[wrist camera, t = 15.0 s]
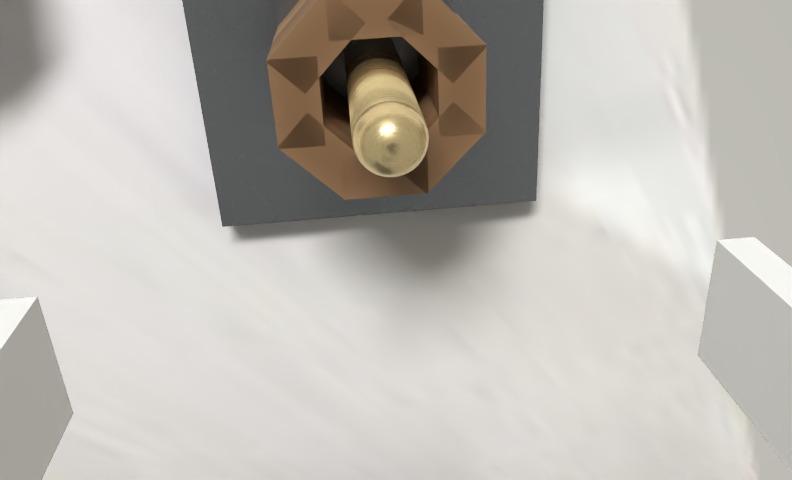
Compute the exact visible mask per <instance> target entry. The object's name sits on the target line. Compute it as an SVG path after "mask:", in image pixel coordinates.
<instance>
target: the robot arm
mask: <svg viewBox="0 0 792 480" xmlns="http://www.w3.org/2000/svg"><path fill="white" fill-rule="evenodd" d="M698 356H699V357H700V359H701V360H702V361H703V362H704V364H705V365H706V366H707V367H708V369H709V370H710V371H711V373H712V374H713V375H714V376H715V378H716V379H717V380H718V381H719V383H720V384H721V385H722V386H723V388H724V389H725V390H726V391H727V393H728V394H729V395H730V396H731V398H732V399H733V400H734V401H735V403H736V404H737V405H738V406H739V408H740V409H741V410H742V411H743V413H744V414H745V415H746V416H747V418H748V419H749V420H750V421H751V423H752V424H753V425H754V426H755V428H756V429H757V430H758V431H759V433H760V434H761V435H762V437H763V438H764V439H765V440H766V441H767V443H768V444H769V445H770V446H771V448H772V449H773V450H774V452H775V453H776V454H777V455H778V456H779V458H780V459H781V460H782V461H783V463H784V464H785V465H786V467H787V468H788V469H789V470H790V472H791V473H792V268H791V267H790V266H789V265H788V264H787V263H786V262H784V261H783V260H782V259H781V258H779V257H778V256H777V255H776V254H774V253H773V252H772V251H771V250H770V249H768V248H767V247H766V246H764V245H763V244H762V243H761V242H760V241H758V240H757V239H756V238H755V237H749V238H739V239H738V238H737V239H725V240H717V243H716V249H715V255H714V261H713V267H712V273H711V279H710V285H709V291H708V297H707V303H706V309H705V315H704V321H703V327H702V333H701V339H700V345H699V351H698ZM72 415H73V411H72V408H71V404H70V401H69V398H68V395H67V391H66V388H65V385H64V382H63V378H62V375H61V372H60V369H59V365H58V362H57V359H56V356H55V352H54V349H53V346H52V343H51V339H50V336H49V333H48V329H47V326H46V323H45V320H44V316H43V313H42V310H41V307H40V303H39V300H38V297H28V298H16V299H4V300H0V480H42V478H43V476H44V473H45V471H46V469H47V467H48V465H49V463H50V461H51V459H52V457H53V455H54V452H55V450H56V448H57V446H58V444H59V442H60V440H61V438H62V436H63V434H64V431H65V429H66V427H67V425H68V423H69V421H70V419H71V417H72Z"/></svg>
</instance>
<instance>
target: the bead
mask: <svg viewBox="0 0 792 480" xmlns="http://www.w3.org/2000/svg"><path fill="white" fill-rule="evenodd" d="M400 36H402V37H403V38H404V39H405V40H406V41H407V42H408V43H409V44H411V45H412V46H413V47H414V48H415V49H416V50H417V51H418V71H419V73H418V75H417V76H416V77H415V78H414V79H413V80H412V81H411V82H410V85H411V87H412V90H413V92H414V95H415V97H416V100H417V102H418V105H419V107H420V110H421V112H422V115H423V117H424V120H425V122H426V125H427V128H428V132H429V144H428V149H427V152H426V155H425V157H424V158H423V160H422V161H421V163H420V164H419V165H418V166H417V167H416V168H415V169H414V170H412V171H411V172H409V173H407V174H405V175H402V176H398V177H383V176H379V175H377V174H374V173H372V172H370V171H369V170H367V169H366V168H365V167H364V166H363V165H362V164H361V163H360V161H359V160H358V158H357V157H356V155H355V152H354V149H353V145H352V136H351V125H350V114H349V104H348V100H347V99H346V98H345V97H344V96H343V95H342V94H340V93H339V92H338V91H337V90H336V89H334V88H333V87H332V86H331V85H330V84H328V83H327V82H326V81H325V80H324V71H325V70H326V69H327V68H328V67H329V65H330V64H331V63H332V62H333V61H334V60H335V58H336V57H337V56H338V55H339V54H340V52H341V51H342V50H343V49H344V48H345V47H346V45H347V44H348V43H349V42H350V41H351V40H356V39H371V38H385V37H400ZM486 47H487V46H486V44H485V43H484V42H483V41H482V40H481V39H480V37H479V36H478V35H477V34H476V33H475V32H474V31H473V30H472V29H471V28H470V27H469V26H468V25H467V24H466V23H465V22H464V21H463V20H462V19H461V18H460V17H459V16H458V15H457V13H455V12H453V11H452V10H451V9H450V8H449V7H448V6H447V5H446V4H445V3H444V2H443V1H442V0H299V1H298V2H297V4H296V5H295V6H294V7H293V9H292V10H291V11H290V12H289V13H288V15H287V16H286V17H285V18H284V20H283V21H282V22H281V23H280V25H278V28H277V30H276V33H275V36H274V39H273V42H272V45H271V48H270V51H269V54H268V57H267V61H266V62H267V66H268V74H269V82H270V89H271V97H272V105H273V113H274V120H275V128H276V136H277V143H278V146H277V148H278V149H280V150H281V151H282V152H284V153H285V154H286V155H287V156H289V157H290V158H291V159H293V160H294V161H295V162H297V163H298V164H299V165H300V166H302V167H303V168H304V169H306V170H307V171H308V172H309V173H311V174H312V175H313V176H315V177H316V178H317V179H318V180H320V181H321V182H322V183H324V184H325V185H326V186H328V187H329V188H330V189H331V190H333V191H334V192H335V193H337V194H338V195H339V196H340V197H342V198H343V199H344V200H348V199H360V198H373V197H385V196H398V195H410V194H423V193H426V194H427V193H429V191H430V190H431V189H432V188H433V187H434V186H435V185H436V184H437V183H438V182H439V181H440V180H441V179H442V178H443V177H444V175H445V174H446V173H447V172H448V171H449V170H450V169H451V168H452V167H453V166H454V165H455V164H456V163H457V162H458V161H459V160H460V159H461V158H462V157H463V156H464V155H465V154H466V153H467V152H468V151H469V149H470V148H471V147H472V146H473V145H474V144H475V143H476V142H477V141H478V140H479V139H480V138H481V137H482V136H483V135H484V134H486Z"/></svg>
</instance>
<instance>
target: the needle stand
mask: <svg viewBox="0 0 792 480" xmlns="http://www.w3.org/2000/svg"><path fill="white" fill-rule="evenodd" d="M182 1H183V7H184V12H185V18H186V24H187V29H188V35H189V41H190V46H191V52H192V57H193V63H194V69H195V74H196V80H197V86H198V91H199V97H200V102H201V108H202V114H203V119H204V125H205V130H206V136H207V142H208V147H209V153H210V159H211V164H212V170H213V175H214V181H215V187H216V192H217V198H218V204H219V209H220V215H221V220H222V226H223V227H224V226H236V225H248V224H260V223H272V222H284V221H296V220H308V219H320V218H332V217H344V216H356V215H368V214H380V213H392V212H404V211H416V210H428V209H440V208H452V207H464V206H476V205H488V204H500V203H512V202H524V201H536V186H537V159H538V132H539V105H540V78H541V51H542V24H543V0H442V1H443V2H444V3H445V4H446V5H447V6H448V7H449V8H450V9H451V10H452V11H453V12H455V13H457V15H458V16H459V17H460V18H461V19H462V20H463V21H464V22H465V23H466V24H467V25H468V26H469V27H470V28H471V29H472V30H473V31H474V32H475V33H476V34H477V35H478V36H479V37H480V39H481V40H482V41H483V42H484V43H485V44H486V46H487V47H486V134H484V135H483V136H482V137H481V138H480V139H479V140H478V141H477V142H476V143H475V144H474V145H473V146H472V147H471V148H470V149H469V151H468V152H467V153H466V154H465V155H464V156H463V157H462V158H461V159H460V160H459V161H458V162H457V163H456V164H455V165H454V166H453V167H452V168H451V169H450V170H449V171H448V172H447V173H446V174H445V175H444V177H443V178H442V179H441V180H440V181H439V182H438V183H437V184H436V185H435V186H434V187H433V188H432V189H431V190H430V191H429V193H427V194H426V193H423V194H410V195H398V196H385V197H373V198H360V199H348V200H344V199H343V198H342V197H340V196H339V195H338V194H337V193H335V192H334V191H333V190H331V189H330V188H329V187H328V186H326V185H325V184H324V183H322V182H321V181H320V180H318V179H317V178H316V177H315V176H313V175H312V174H311V173H309V172H308V171H307V170H306V169H304V168H303V167H302V166H300V165H299V164H298V163H297V162H295V161H294V160H293V159H291V158H290V157H289V156H287V155H286V154H285V153H284V152H282V151H281V150H280V149H278V148H277V146H278V143H277V136H276V128H275V120H274V113H273V105H272V97H271V89H270V82H269V74H268V66H267V62H266V61H267V57H268V54H269V51H270V48H271V45H272V42H273V39H274V36H275V33H276V30H277V28H278V25H280V23H281V22H282V21H283V20H284V18H285V17H286V16H287V15H288V13H289V12H290V11H291V10H292V9H293V7H294V6H295V5H296V4H297V2H298V1H299V0H182ZM418 73H419V71H418V51H417V50H416V49H415V48H414V47H413V46H412V45H411V44H409V43H408V42H407V41H406V40H405V39H404V38H403V37H402V36H400V37H385V38H371V39H356V40H351V41H350V42H349V43H348V44H347V45H346V47H345V48H344V49H343V50H342V51H341V52H340V54H339V55H338V56H337V57H336V58H335V60H334V61H333V62H332V63H331V64H330V65H329V67H328V68H327V69H326V70H325V71H324V80H325V81H326V82H327V83H328V84H330V85H331V86H332V87H333V88H334V89H336V90H337V91H338V92H339V93H340V94H342V95H343V96H344V97H345V98H346V99H347V100H348V104H349V114H350V125H351V136H352V145H353V149H354V152H355V155H356V157H357V158H358V160H359V161H360V163H361V164H362V165H363V166H364V167H365V168H366V169H367V170H369V171H370V172H372V173H374V174H377V175H379V176H383V177H398V176H402V175H405V174H407V173H409V172H411V171H412V170H414V169H415V168H416V167H417V166H418V165H419V164H420V163H421V161H422V160H423V158H424V157H425V155H426V152H427V149H428V144H429V132H428V128H427V125H426V122H425V120H424V117H423V115H422V112H421V110H420V107H419V105H418V102H417V100H416V97H415V95H414V92H413V90H412V87H411V85H410V82H411V81H412V80H413V79H414V78H415V77H416V76H417V75H418Z"/></svg>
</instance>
